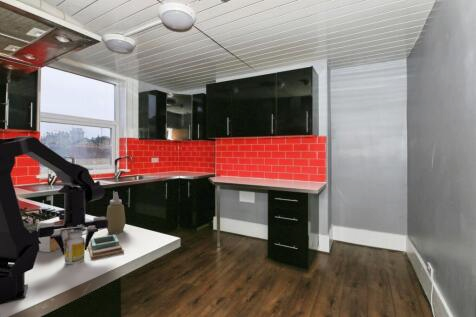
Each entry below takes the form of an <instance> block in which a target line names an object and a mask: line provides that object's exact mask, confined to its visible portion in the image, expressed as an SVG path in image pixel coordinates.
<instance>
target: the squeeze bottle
mask: <svg viewBox="0 0 476 317" xmlns="http://www.w3.org/2000/svg"><path fill="white" fill-rule="evenodd" d="M122 203H123V202H122V199H120V198H119V194H118V191H115V192H114V193H113V198H112V199H110V200H109V205H108V206H107V210H106V216H105V217H106V218H107V220H108V228H106V229H107V230H106V231H107V232H108V234H110V235H116V234H120V233H122V232H124V229H125V227H126V215H125V214H126V213H125V206H124V204H122Z"/></svg>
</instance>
